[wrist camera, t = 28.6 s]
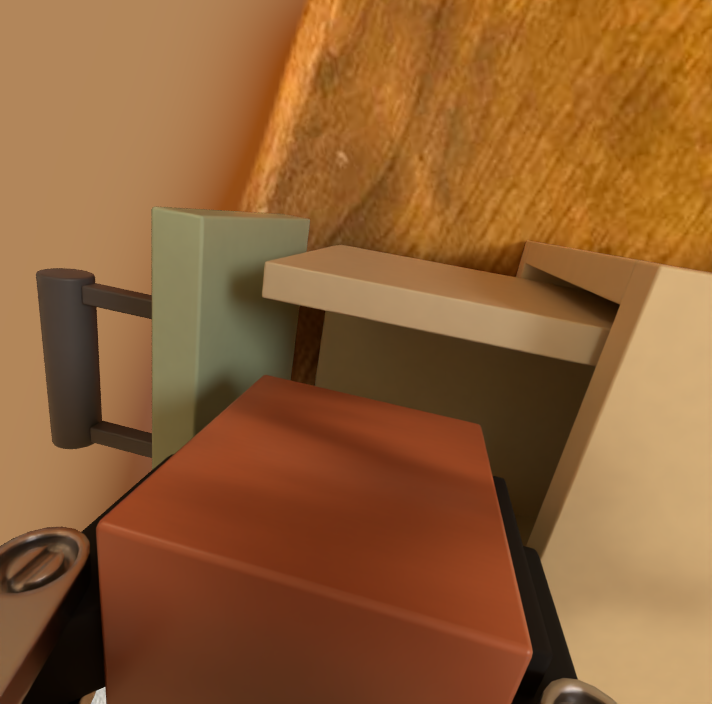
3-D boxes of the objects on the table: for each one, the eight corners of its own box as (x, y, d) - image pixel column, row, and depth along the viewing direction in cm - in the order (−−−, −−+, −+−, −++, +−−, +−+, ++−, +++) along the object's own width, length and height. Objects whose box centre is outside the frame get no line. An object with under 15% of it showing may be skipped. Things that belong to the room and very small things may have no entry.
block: (247, 541, 11) (108, 777, 6) (263, 372, 9) (91, 523, 5) (430, 593, 10) (426, 898, 6) (481, 422, 9) (538, 655, 4)
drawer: (148, 432, 20) (-14, 551, 13) (146, 189, 16) (-84, 162, 9) (544, 534, 18) (621, 750, 11) (647, 279, 14) (875, 341, 7)
